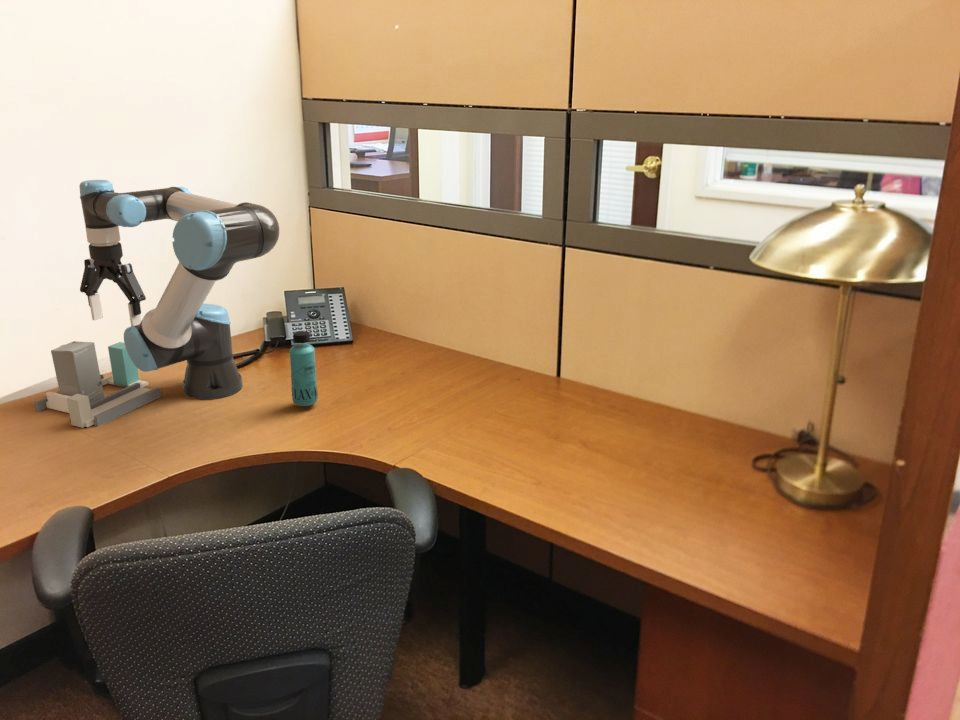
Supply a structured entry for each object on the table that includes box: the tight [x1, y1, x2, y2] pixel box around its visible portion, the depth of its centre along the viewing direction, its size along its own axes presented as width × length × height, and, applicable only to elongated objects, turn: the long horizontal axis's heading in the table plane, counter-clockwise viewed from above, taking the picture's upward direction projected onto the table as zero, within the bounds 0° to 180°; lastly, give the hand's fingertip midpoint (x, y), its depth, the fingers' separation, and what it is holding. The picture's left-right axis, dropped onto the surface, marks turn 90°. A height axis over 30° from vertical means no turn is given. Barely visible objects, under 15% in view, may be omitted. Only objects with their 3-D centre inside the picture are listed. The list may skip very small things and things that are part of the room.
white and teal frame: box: [46, 341, 149, 414], centre depth 195 cm, size 11×22×11 cm, turn 157°
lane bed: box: [34, 374, 162, 427], centre depth 193 cm, size 21×20×2 cm
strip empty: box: [67, 387, 152, 429], centre depth 189 cm, size 5×22×7 cm, turn 157°
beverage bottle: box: [289, 330, 319, 407], centre depth 191 cm, size 6×7×20 cm
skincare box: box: [50, 340, 105, 403], centre depth 190 cm, size 8×7×16 cm
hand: (116, 322), depth 199 cm, fingers open, 13 cm apart
